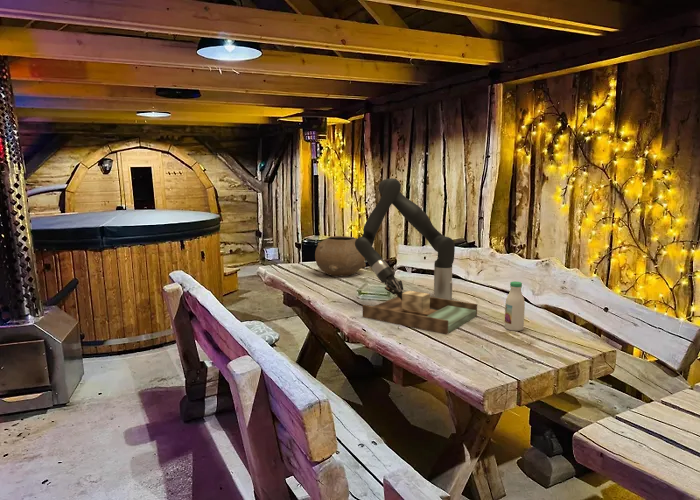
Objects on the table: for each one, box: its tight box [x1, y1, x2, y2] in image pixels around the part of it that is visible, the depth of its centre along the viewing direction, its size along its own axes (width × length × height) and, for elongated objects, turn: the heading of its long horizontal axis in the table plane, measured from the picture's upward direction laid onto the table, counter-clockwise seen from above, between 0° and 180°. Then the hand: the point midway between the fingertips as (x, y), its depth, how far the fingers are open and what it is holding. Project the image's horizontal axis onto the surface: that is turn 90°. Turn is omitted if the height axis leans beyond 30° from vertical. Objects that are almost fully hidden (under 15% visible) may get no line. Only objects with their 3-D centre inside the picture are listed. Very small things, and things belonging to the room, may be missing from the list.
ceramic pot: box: [314, 235, 367, 277], centre depth 313 cm, size 33×34×25 cm
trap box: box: [362, 295, 478, 335], centre depth 218 cm, size 42×32×6 cm
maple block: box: [402, 290, 431, 313], centre depth 219 cm, size 11×6×8 cm, turn 53°
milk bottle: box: [504, 280, 526, 332], centre depth 199 cm, size 8×8×20 cm
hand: (404, 299), depth 222 cm, fingers closed
